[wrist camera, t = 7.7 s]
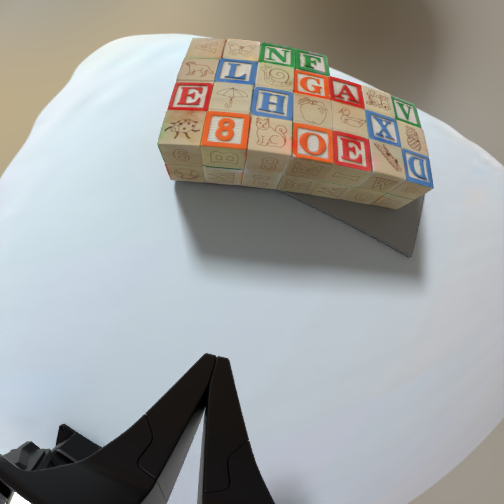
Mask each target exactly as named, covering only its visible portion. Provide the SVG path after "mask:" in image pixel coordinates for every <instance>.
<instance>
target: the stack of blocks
mask: <svg viewBox="0 0 504 504" xmlns="http://www.w3.org/2000/svg"><path fill="white" fill-rule="evenodd" d="M157 145H158V147H159V150H160V152H161V155H162V157H163V160H164V162H165V166H166V169H167V171H168V174H169V176H170V179H171V180H176V181H191V182H207V183H216V184H228V185H243V186H250V187H259V188H267V189H277V190H282V191H290V192H297V193H304V194H311V195H315V196H321V197H328V198H334V199H343V200H346V201H351V202H357V203H363V204H369V205H370V204H372V205H376V206H381V207H386V208H391V209H395V210H397V209H399V208H401V207H403V206H405V205H406V204H408V203H410V202H412V201H413V200H414V199H417V198H418V197H420V196H422V195H423V194H425V193H427V192H428V191H430V190H432V189H433V188H434V187H433V180H432V173H431V167H430V161H429V158H428V150H427V145H426V140H425V136H424V132H423V130H422V129H421V124H420V120H419V116H418V113H417V109H416V106H415V105H414V104H412V103H410V102H407V101H405V100H402V99H400V98H397V97H395V96H392V95H390V94H388V93H385V92H383V91H380V90H377V89H374V88H371V87H368V86H364V85H359V84H356V83H353V82H349V81H346V80H342V79H339V78H335V77H331V76H330V73H329V66H328V60H327V56H325V55H321V54H317V53H313V52H309V51H304V50H300V49H294V48H292V47H287V46H282V45H276V44H271V43H260V42H256V41H249V40H240V39H227V40H225V39H209V38H193V39H192V41H191V43H190V46H189V49H188V51H187V54H186V57H185V58H184V60H183V62H182V65H181V68H180V71H179V73H178V76H177V80H176V83H175V86H174V89H173V93H172V96H171V99H170V102H169V106H168V110H167V112H166V115H165V118H164V121H163V125H162V128H161V131H160V135H159V139H158V144H157Z"/></svg>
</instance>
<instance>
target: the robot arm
mask: <svg viewBox="0 0 504 504" xmlns="http://www.w3.org/2000/svg"><path fill="white" fill-rule="evenodd" d="M205 407H206V408H205ZM204 410H205V415H204V424H203V435H202V447H201V458H200V471H199V484H198V499H197V504H275V503H274V501H273V499H272V497H271V495H270V493H269V491H268V489H267V487H266V484H265V482H264V480H263V478H262V476H261V474H260V471H259V469H258V466H257V464H256V461H255V458H254V455H253V452H252V448H251V445H250V441H248V440H249V438H248V434H247V430H246V426H245V423H244V419H243V415H242V411H241V407H240V403H239V399H238V395H237V391H236V387H235V382H234V378H233V374H232V370H231V365H230V361H229V359H228V358H225V357H220V356H218V357H216V356H215V355H212V354H208V353H205V354H204V355H203V356H202V357H201V358H200V359H199V360H198V361H197V362H196V363H195V364H194V365H193V366H192V367H191V368H190V369H189V370H188V371H187V372H186V373H185V374H184V375H183V376H182V377H181V378H180V379H179V380H178V381H177V382H176V383H175V384H174V385H173V386H172V387H171V388H170V389H169V390H168V391H167V392H166V393H165V394H164V395H163V396H162V397H161V398H160V399H159V400H158V401H157V402H156V403H155V404H154V405H153V406H152V407H151V408H150V409H149V410H148V411H147V412H146V415H145V414H144V415H143V416H142V417H141V418H140V419H139V420H138V421H137V422H136V423H134V424H133V425H132V426H131V427H130V428H129V429H128V430H126V431H125V432H124V433H123V434H121V435H120V436H119V437H117V438H116V439H114V440H113V441H111V442H110V443H109V444H107V445H106V446H104V447H103V448H102V447H100V446H98V445H97V444H95V443H93V442H92V441H90V440H88V439H87V438H85V437H84V436H82V435H80V434H79V433H77V432H76V431H74V430H73V429H71V428H70V427H68V426H67V425H65V424H61V425H60V426H59V431H58V436H57V441H56V447H54V448H53V449H52V450H50V449H40V448H39V447H38V446H36V445H35V444H34V443H33V442H26V443H24V444H23V445H21V446H20V447H19V448H17V449H13V450H11V451H10V453H7V454H5V455H1V454H0V504H167V501H168V499H169V497H170V494H171V492H172V490H173V487H174V485H175V482H176V480H177V477H178V475H179V473H180V470H181V468H182V465H183V463H184V460H185V458H186V456H187V453H188V451H189V448H190V446H191V443H192V441H193V438H194V436H195V433H196V431H197V429H198V426H199V424H200V421H201V419H202V416H203V413H204ZM63 428H64V429H65V430H64V429H63Z"/></svg>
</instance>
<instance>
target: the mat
mask: <svg viewBox="0 0 504 504" xmlns="http://www.w3.org/2000/svg"><path fill="white" fill-rule="evenodd" d="M428 158H429V156H428ZM276 190H277V189H276ZM278 191H280V192H282V193H285V194H287V195H289V196H291V197H293V198H295V199H297V200H300V201H302V202H304V203H306V204H308V205H310V206H312V207H314V208H316V209H318V210H320V211H322V212H324V213H327V214H329V215H331V216H333V217H335V218H337V219H339V220H340V221H342V222H344V223H346V224H348V225H350V226H352V227H354V228H356V229H358V230H360V231H362V232H364V233H366V234H367V235H369V236H371V237H373V238H375V239H377V240H379V241H381V242H382V243H384V244H386V245H388V246H390V247H391V248H393V249H395V250H397V251H399V252H400V253H402V254H404V255H406V256H407V257H412V253H413V249H414V245H415V240H416V235H417V231H418V226H419V221H420V215H421V210H422V204H423V197H424V194H423V195H422V196H420V197H418V198H417V199H414V200H413V201H412V202H410V203H408V204H406V205H405V206H403V207H401V208H399V209H397V210H395V209H391V208H386V207H381V206H376V205H372V204H370V205H369V204H363V203H357V202H351V201H346V200H343V199H334V198H328V197H321V196H315V195H311V194H304V193H297V192H290V191H282V190H278Z"/></svg>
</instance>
